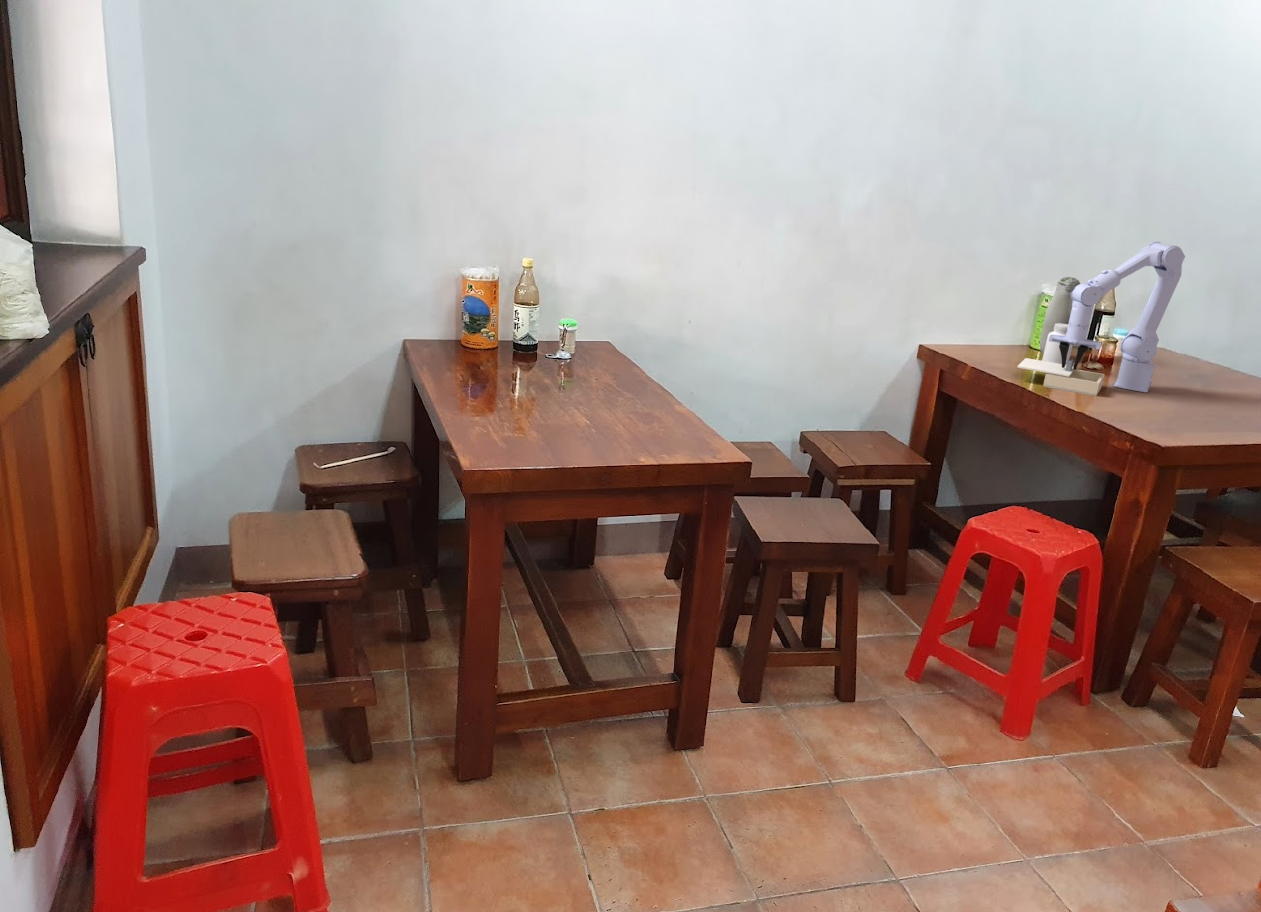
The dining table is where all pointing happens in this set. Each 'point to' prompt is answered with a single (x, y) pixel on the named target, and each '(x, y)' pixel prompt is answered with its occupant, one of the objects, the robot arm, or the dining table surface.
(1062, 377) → the beige open box
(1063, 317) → the gray tapered bottle
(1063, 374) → the lid
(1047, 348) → the pill bottle
